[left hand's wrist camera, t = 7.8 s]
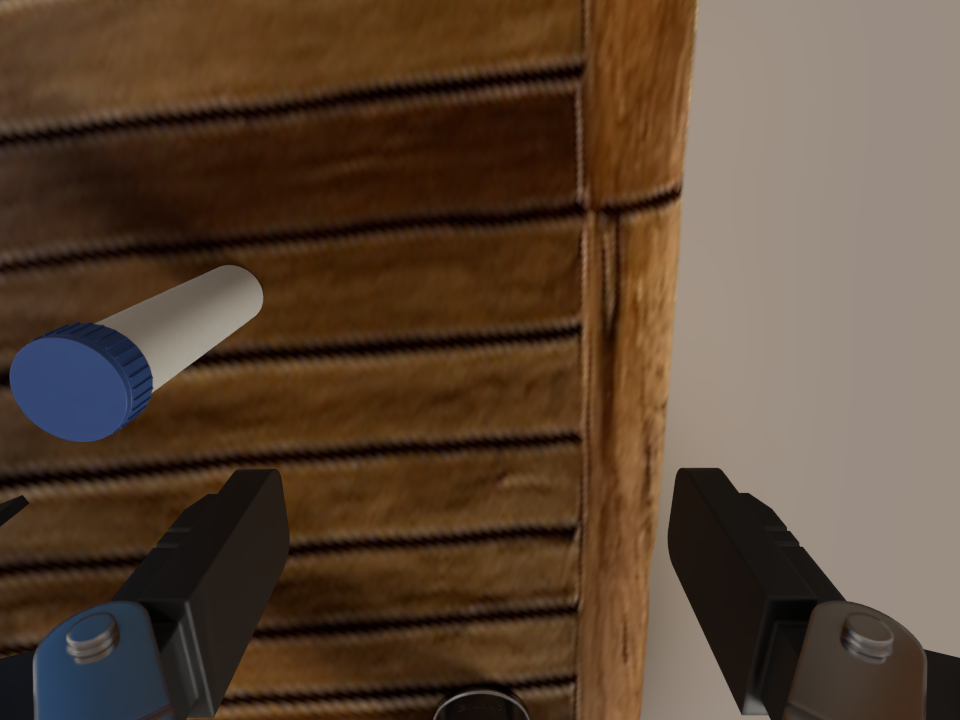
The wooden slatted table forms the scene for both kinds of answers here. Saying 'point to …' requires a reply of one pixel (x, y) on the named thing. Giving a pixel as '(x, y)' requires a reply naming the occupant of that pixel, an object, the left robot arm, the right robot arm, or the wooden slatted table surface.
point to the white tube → (189, 319)
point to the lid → (81, 381)
